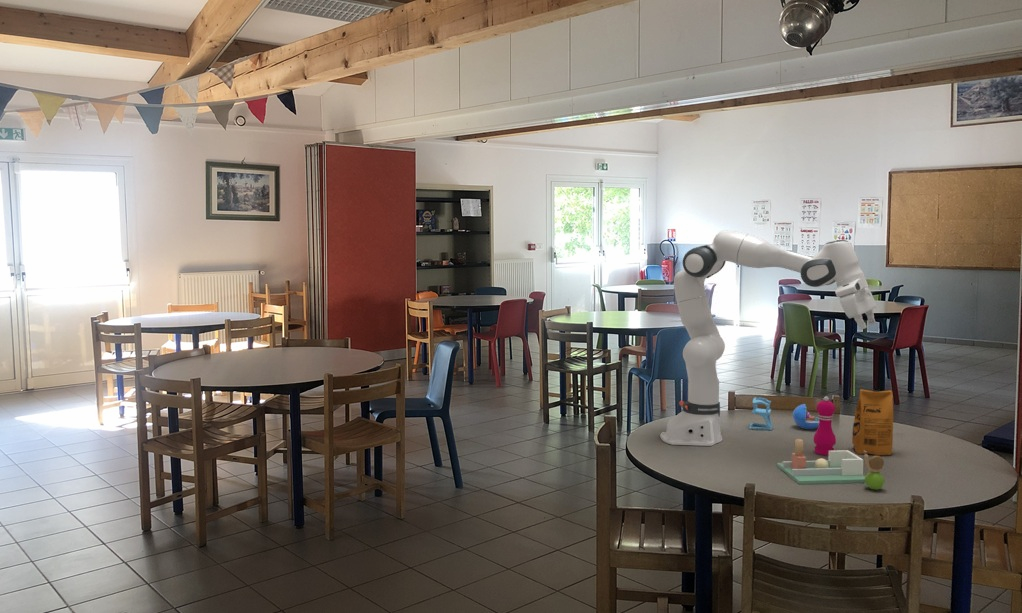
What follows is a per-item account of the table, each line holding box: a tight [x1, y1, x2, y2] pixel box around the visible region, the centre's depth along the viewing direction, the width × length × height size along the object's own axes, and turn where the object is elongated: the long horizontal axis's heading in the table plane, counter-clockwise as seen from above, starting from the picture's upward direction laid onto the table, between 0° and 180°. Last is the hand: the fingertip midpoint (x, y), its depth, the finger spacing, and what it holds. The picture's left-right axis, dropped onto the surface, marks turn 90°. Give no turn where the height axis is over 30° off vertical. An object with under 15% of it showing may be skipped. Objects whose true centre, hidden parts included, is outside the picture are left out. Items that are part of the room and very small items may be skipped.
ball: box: [815, 458, 828, 468], centre depth 249 cm, size 4×4×4 cm
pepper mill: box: [813, 396, 837, 456], centre depth 271 cm, size 7×7×20 cm
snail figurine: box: [863, 451, 885, 491], centre depth 234 cm, size 5×6×12 cm
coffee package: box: [851, 388, 894, 456], centre depth 271 cm, size 10×12×22 cm
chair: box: [748, 396, 773, 431], centre depth 303 cm, size 8×8×12 cm
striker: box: [791, 438, 807, 469], centre depth 248 cm, size 2×5×10 cm, turn 3°
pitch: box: [776, 449, 866, 485], centre depth 249 cm, size 22×18×6 cm
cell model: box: [792, 403, 819, 430], centre depth 302 cm, size 10×12×10 cm
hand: (868, 326), depth 253 cm, fingers open, 8 cm apart
